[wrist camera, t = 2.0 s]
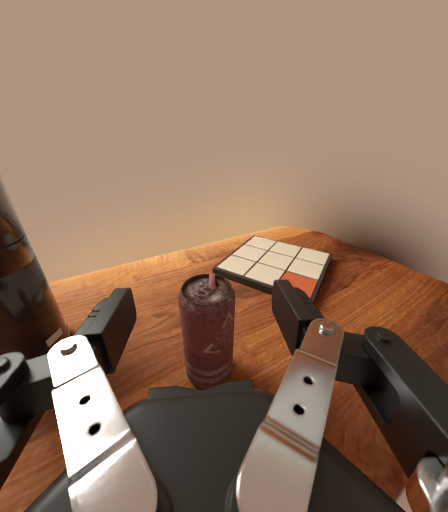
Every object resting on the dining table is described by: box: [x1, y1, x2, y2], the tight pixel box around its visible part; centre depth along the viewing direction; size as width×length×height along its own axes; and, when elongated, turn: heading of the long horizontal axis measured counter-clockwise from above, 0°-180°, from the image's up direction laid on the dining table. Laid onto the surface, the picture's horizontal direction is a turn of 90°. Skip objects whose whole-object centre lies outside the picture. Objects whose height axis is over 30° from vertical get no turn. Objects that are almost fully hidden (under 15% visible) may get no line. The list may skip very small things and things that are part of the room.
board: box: [213, 235, 332, 303], centre depth 55 cm, size 22×22×2 cm
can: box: [178, 273, 235, 390], centre depth 27 cm, size 6×6×14 cm
